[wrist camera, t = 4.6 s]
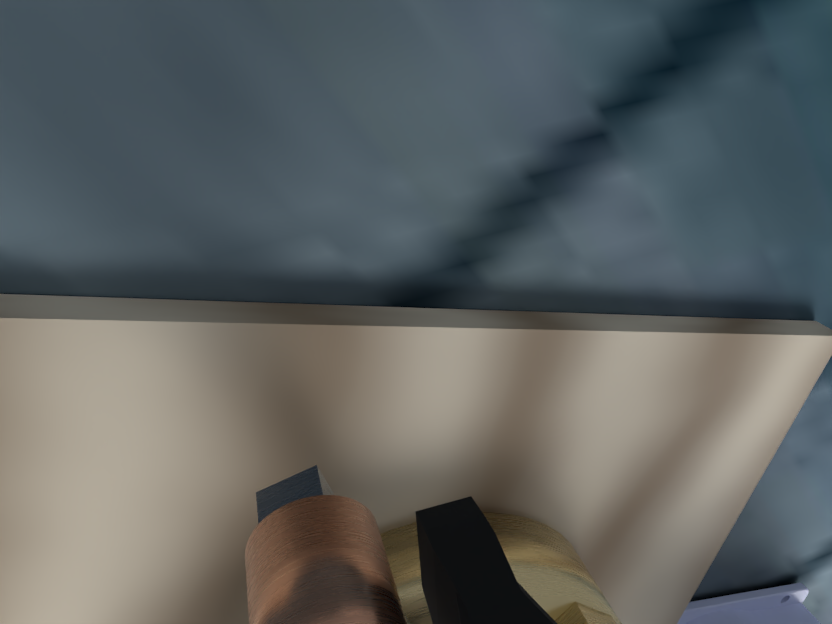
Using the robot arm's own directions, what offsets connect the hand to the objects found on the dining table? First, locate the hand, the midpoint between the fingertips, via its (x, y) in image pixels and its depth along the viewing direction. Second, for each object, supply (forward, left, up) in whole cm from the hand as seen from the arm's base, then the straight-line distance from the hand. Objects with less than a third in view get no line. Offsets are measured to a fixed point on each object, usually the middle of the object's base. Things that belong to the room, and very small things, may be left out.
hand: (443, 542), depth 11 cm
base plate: (-3, +10, -6) cm, 12 cm away
